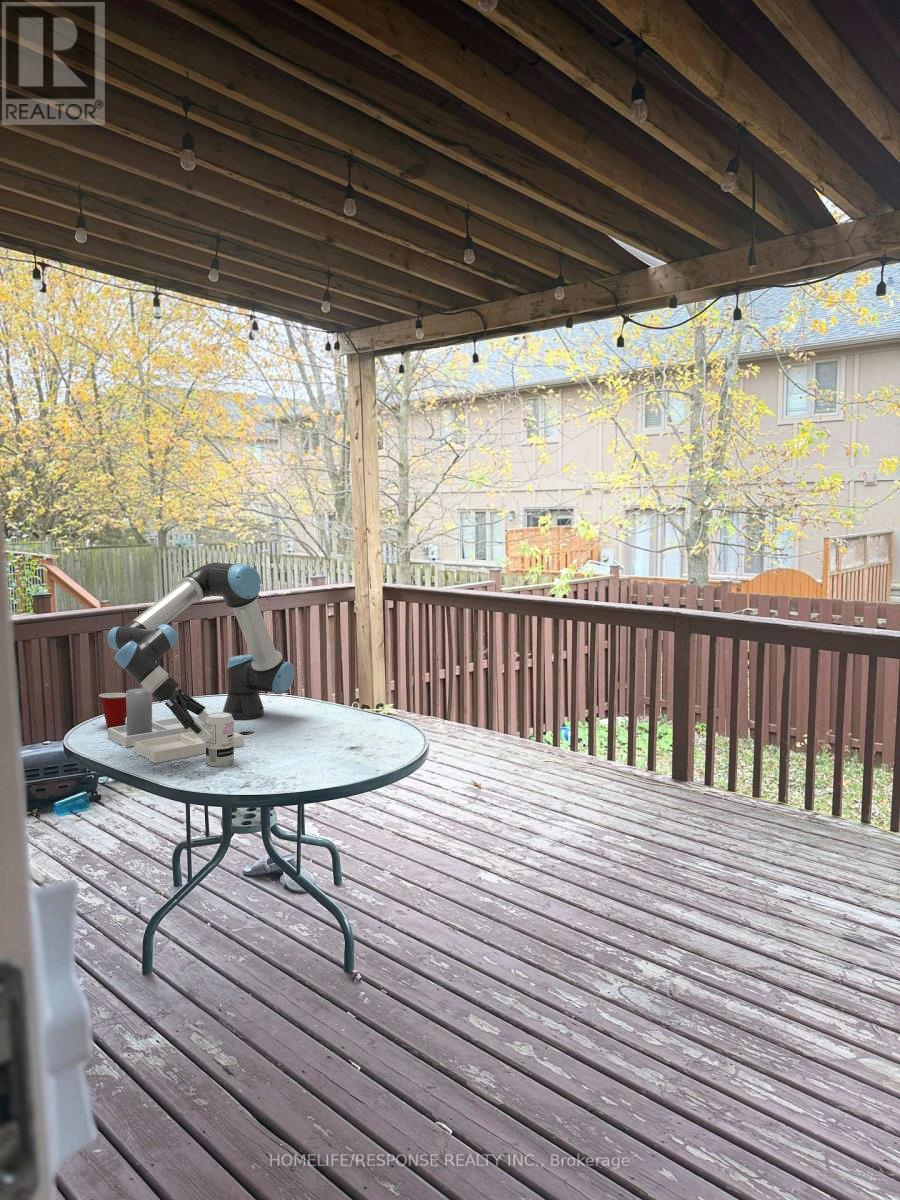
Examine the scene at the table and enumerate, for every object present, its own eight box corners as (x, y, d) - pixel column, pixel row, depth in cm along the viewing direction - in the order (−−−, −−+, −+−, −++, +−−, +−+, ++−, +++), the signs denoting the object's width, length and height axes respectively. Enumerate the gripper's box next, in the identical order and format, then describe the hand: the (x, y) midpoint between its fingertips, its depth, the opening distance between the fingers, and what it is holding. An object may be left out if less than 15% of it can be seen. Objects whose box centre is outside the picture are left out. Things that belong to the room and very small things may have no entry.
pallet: (221, 736, 273) (221, 726, 273) (243, 745, 262) (243, 735, 262) (134, 752, 252) (134, 741, 252) (154, 763, 241) (154, 752, 241)
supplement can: (209, 759, 247) (208, 711, 245) (236, 759, 247) (236, 711, 246) (203, 767, 238) (202, 718, 237) (231, 767, 239) (231, 718, 238)
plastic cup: (138, 723, 288) (137, 691, 287) (123, 731, 277) (122, 697, 276) (109, 722, 289) (108, 689, 288) (93, 729, 278) (92, 696, 277)
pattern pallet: (192, 724, 289) (191, 679, 287) (211, 732, 278) (211, 685, 276) (107, 738, 268) (106, 690, 267) (125, 747, 257) (124, 697, 256)
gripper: (160, 685, 250) (210, 731, 253) (140, 702, 225) (195, 753, 229) (178, 668, 250) (227, 715, 253) (160, 684, 225) (214, 735, 229)
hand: (212, 733), depth 241 cm, fingers open, 13 cm apart
